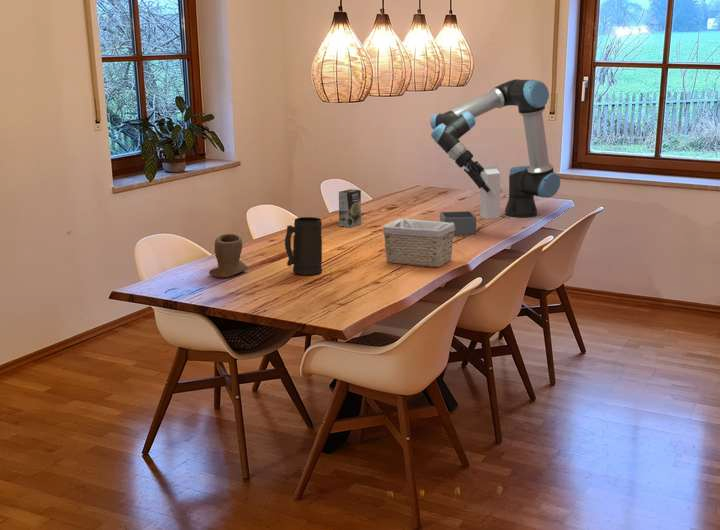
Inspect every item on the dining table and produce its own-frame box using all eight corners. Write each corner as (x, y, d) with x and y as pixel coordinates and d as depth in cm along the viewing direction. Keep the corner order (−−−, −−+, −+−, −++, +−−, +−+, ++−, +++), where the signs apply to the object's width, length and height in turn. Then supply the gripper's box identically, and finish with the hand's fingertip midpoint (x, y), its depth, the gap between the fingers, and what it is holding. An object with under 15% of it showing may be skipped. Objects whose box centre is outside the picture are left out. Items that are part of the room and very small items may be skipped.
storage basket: (381, 263, 326) (380, 225, 322) (400, 253, 339) (400, 217, 336) (439, 269, 314) (439, 230, 311) (456, 259, 328) (456, 222, 324)
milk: (480, 216, 361) (480, 164, 355) (492, 215, 363) (492, 163, 357) (487, 219, 355) (487, 166, 350) (500, 217, 357) (500, 165, 352)
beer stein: (308, 266, 322) (306, 214, 317) (329, 271, 315) (327, 217, 310) (279, 275, 311) (276, 221, 306) (300, 280, 304) (298, 225, 299)
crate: (470, 228, 380) (470, 211, 378) (476, 235, 367) (476, 217, 364) (440, 229, 379) (440, 212, 377) (444, 236, 366) (444, 218, 364)
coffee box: (349, 228, 387) (349, 192, 383) (338, 226, 391) (337, 191, 386) (362, 224, 394) (361, 189, 390) (351, 222, 398) (350, 188, 393)
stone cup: (228, 281, 305) (226, 240, 301) (204, 277, 311) (201, 236, 307) (257, 271, 316) (254, 232, 313) (233, 267, 323) (231, 228, 319)
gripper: (462, 157, 369) (498, 196, 366) (446, 165, 350) (484, 205, 348) (474, 145, 365) (510, 184, 363) (459, 152, 347) (497, 193, 344)
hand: (497, 194), depth 355 cm, fingers closed on milk, 8 cm apart
